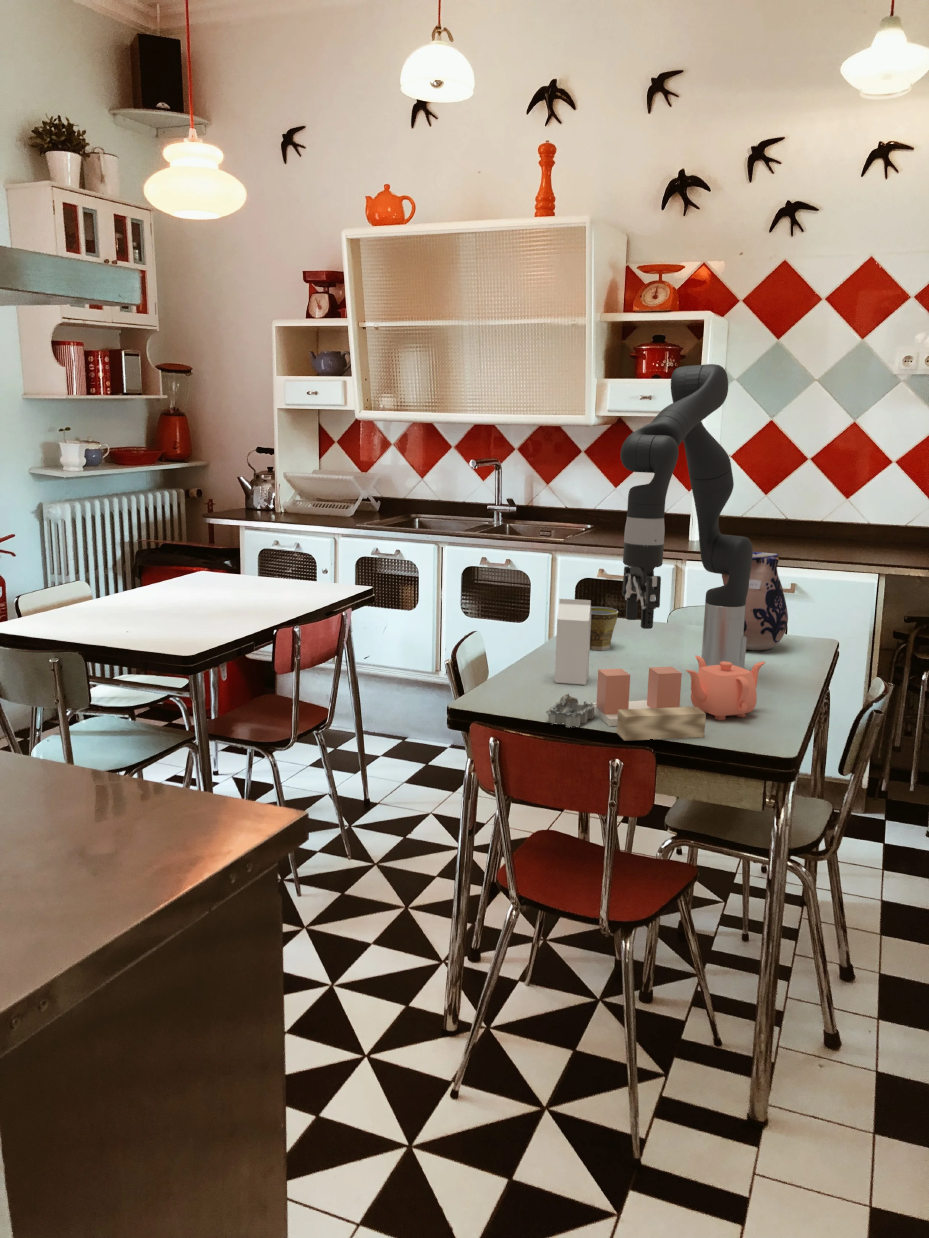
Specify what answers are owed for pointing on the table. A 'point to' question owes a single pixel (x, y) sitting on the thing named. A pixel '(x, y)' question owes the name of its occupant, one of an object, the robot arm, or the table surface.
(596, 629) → the ceramic cup
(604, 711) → the cream and salmon bracket
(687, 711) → the oak beam
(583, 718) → the egg carton
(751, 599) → the ceramic pitcher
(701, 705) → the teapot
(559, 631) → the milk carton
